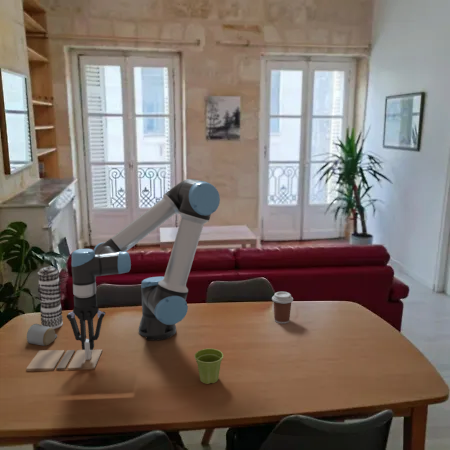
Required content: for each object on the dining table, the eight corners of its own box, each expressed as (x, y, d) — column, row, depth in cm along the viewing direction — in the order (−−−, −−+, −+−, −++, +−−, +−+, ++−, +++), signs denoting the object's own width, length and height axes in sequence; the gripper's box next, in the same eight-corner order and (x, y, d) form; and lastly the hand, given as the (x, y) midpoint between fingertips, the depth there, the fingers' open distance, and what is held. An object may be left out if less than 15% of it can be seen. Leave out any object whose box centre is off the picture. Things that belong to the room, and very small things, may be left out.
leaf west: (102, 352, 166) (102, 349, 165) (94, 371, 153) (94, 367, 153) (77, 353, 165) (77, 349, 165) (67, 371, 152) (67, 367, 152)
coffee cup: (267, 321, 194) (268, 295, 192) (276, 314, 202) (277, 289, 199) (287, 326, 189) (288, 299, 187) (295, 319, 197) (296, 293, 195)
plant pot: (213, 390, 142) (213, 365, 140) (189, 381, 147) (188, 357, 145) (228, 377, 150) (228, 353, 148) (205, 369, 155) (205, 346, 153)
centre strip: (75, 353, 165) (74, 349, 165) (65, 372, 152) (64, 367, 152) (67, 353, 165) (67, 350, 164) (56, 372, 152) (56, 368, 152)
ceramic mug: (45, 350, 168) (43, 330, 167) (26, 347, 171) (25, 328, 169) (62, 338, 178) (61, 320, 177) (45, 335, 181) (44, 317, 179)
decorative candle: (68, 323, 192) (64, 267, 187) (49, 331, 184) (45, 272, 179) (54, 318, 197) (50, 263, 192) (36, 326, 189) (31, 269, 184)
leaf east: (64, 353, 165) (64, 350, 164) (53, 372, 152) (53, 368, 152) (39, 353, 164) (39, 350, 164) (26, 372, 151) (26, 368, 151)
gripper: (106, 290, 158) (109, 352, 163) (68, 290, 157) (72, 353, 162) (102, 297, 151) (105, 362, 155) (62, 298, 150) (66, 363, 154)
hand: (88, 357), depth 158 cm, fingers closed
